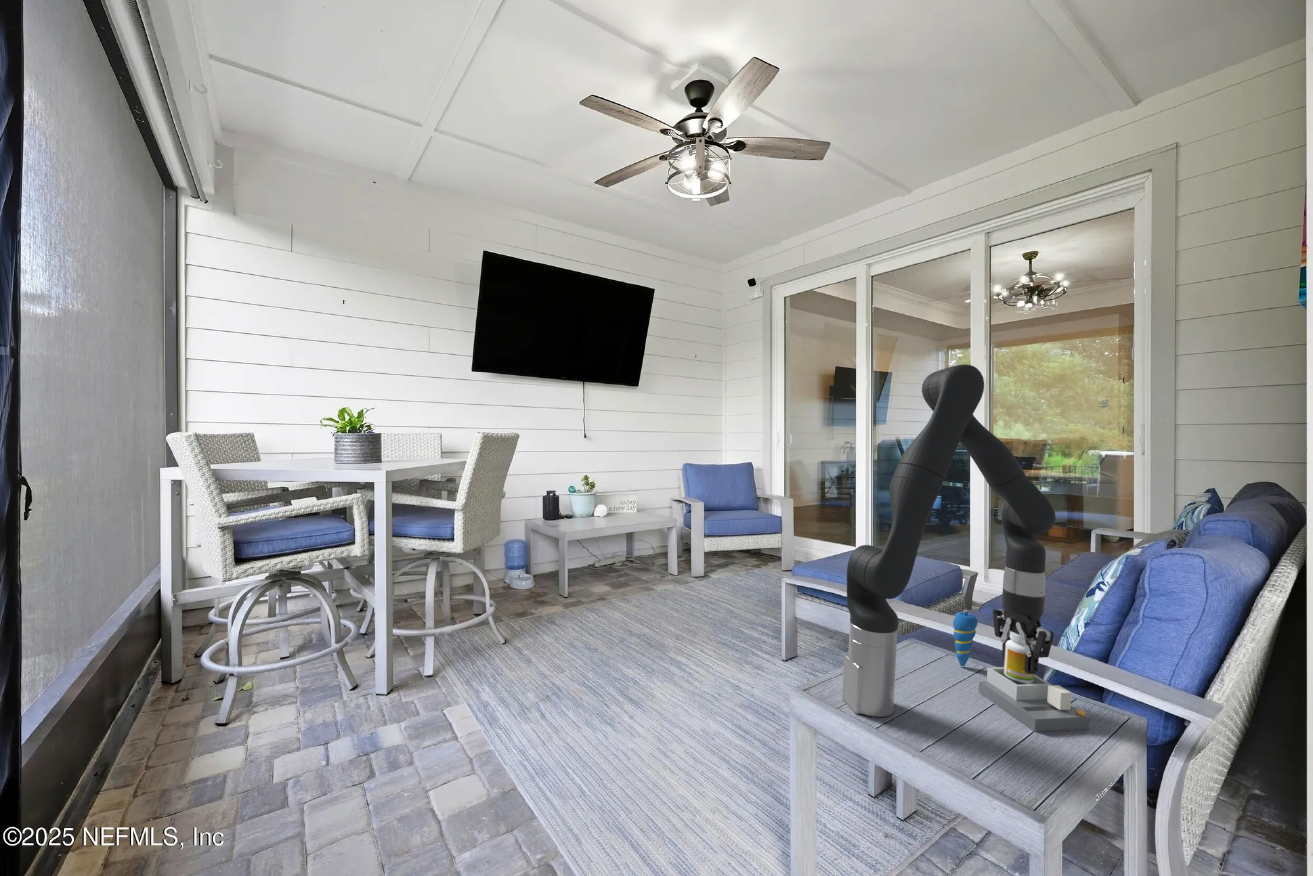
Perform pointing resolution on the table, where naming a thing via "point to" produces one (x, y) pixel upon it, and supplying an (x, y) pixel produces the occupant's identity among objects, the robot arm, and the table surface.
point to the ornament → (964, 635)
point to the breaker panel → (1030, 703)
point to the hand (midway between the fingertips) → (1018, 666)
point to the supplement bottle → (1016, 660)
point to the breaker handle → (1059, 697)
